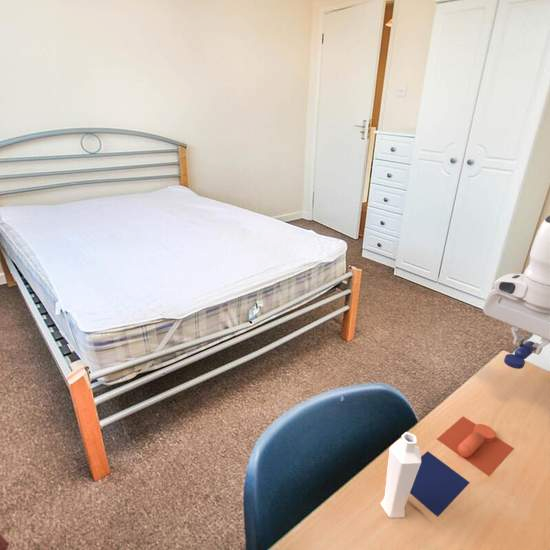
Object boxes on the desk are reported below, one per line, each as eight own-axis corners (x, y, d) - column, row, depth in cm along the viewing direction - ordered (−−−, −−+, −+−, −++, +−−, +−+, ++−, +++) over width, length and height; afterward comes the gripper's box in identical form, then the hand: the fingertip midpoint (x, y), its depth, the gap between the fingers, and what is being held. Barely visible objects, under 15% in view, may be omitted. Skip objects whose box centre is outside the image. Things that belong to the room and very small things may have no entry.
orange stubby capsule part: (469, 464, 68) (472, 455, 67) (450, 451, 70) (453, 441, 69) (497, 436, 74) (500, 427, 73) (478, 425, 76) (481, 416, 76)
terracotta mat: (462, 418, 79) (463, 416, 79) (513, 450, 72) (514, 448, 72) (435, 441, 73) (436, 438, 73) (488, 478, 66) (489, 476, 66)
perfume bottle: (415, 515, 60) (434, 445, 54) (392, 525, 58) (408, 454, 52) (396, 489, 64) (412, 422, 58) (374, 498, 62) (388, 429, 56)
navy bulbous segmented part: (522, 345, 87) (525, 336, 86) (539, 352, 84) (542, 343, 83) (500, 362, 81) (503, 353, 80) (519, 371, 78) (522, 361, 77)
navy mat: (427, 453, 71) (427, 450, 70) (469, 484, 65) (469, 482, 65) (394, 482, 65) (394, 479, 65) (436, 519, 59) (437, 516, 59)
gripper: (613, 306, 71) (588, 366, 77) (500, 271, 86) (486, 324, 92) (603, 316, 68) (577, 379, 74) (487, 278, 83) (473, 332, 88)
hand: (526, 348), depth 83 cm, fingers closed on navy bulbous segmented part, 2 cm apart
